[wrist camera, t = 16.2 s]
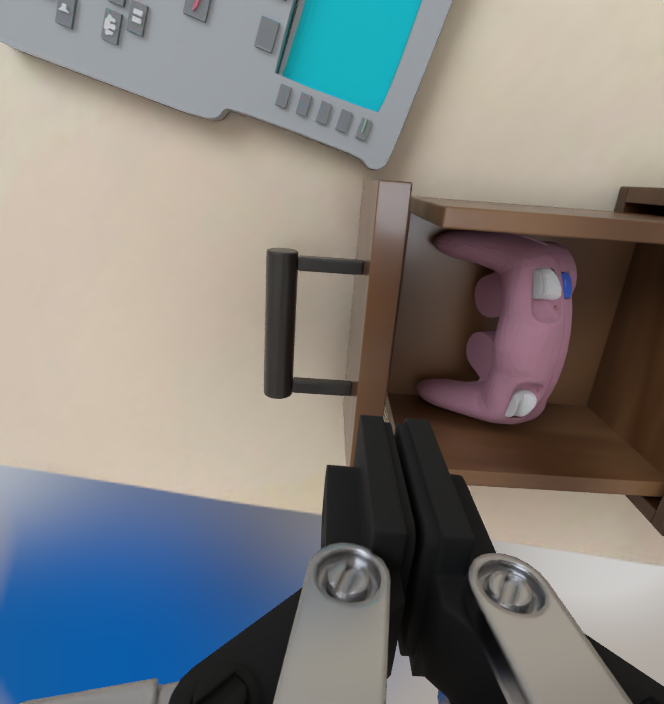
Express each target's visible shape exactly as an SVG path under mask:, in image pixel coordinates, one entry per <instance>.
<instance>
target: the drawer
mask: <svg viewBox="0 0 664 704" xmlns="http://www.w3.org/2000/svg"><path fill="white" fill-rule="evenodd" d="M411 191H412V183H411V182H401V181H389V180H376V179H363V187H362V198H361V210H360V221H359V232H358V243H357V254H356V259H344V258H330V257H316V256H302V255H300V256H299V257H298V251H296V250H293V249H286V248H271V249H268V250H267V257H266V309H265V360H264V393H265V395H266V396H268V397H270V398H275V399H282V398H287V397H289V396H290V395H291V394H292V392H294V393H310V394H325V395H340V396H344V399H343V412H344V434H345V457H346V466H348V467H353V464H354V456H355V448H356V440H357V432H358V424H359V418H360V415H373V416H383V413H384V405H385V403H386V409H387V413H388V417H389V422H390V423H391V425H392V429H393V434H394V433H395V427H396V424H397V423H401V424H403V423H404V420H405V418H411V419H424V420H429V422H430V425H431V427H432V430H433V432H434V435H435V437H436V440H437V443H438V445H439V448H440V450H441V453H442V455H443V458H444V460H445V463H446V466H447V468H448V471H449V473H450V474H455V475H461V476H462V477H463V478H464V480H465V482H466V484H467V485H475V486H491V487H508V488H524V489H541V490H557V491H574V492H590V493H607V494H623V495H640V496H656V497H663V494H664V216H658V215H650V214H637V213H624V212H611V211H598V210H584V209H571V208H558V207H545V206H531V205H518V204H505V203H492V202H478V201H465V200H452V199H439V198H426V197H412V196H411ZM452 230H471V231H485V232H498V233H512V234H519V235H523V236H527V237H530V238H532V239H535V240H538V241H549V242H555V243H558V244H560V245H562V246H563V247H565V248H566V249H567V250H568V251H569V252H570V254H571V255H572V257H573V259H574V262H575V264H576V271H577V280H576V286H575V289H574V291H573V293H572V324H571V335H570V340H569V346H568V351H567V355H566V359H565V362H564V366H563V368H562V371H561V374H560V376H559V379H558V382H557V383H556V385H555V387H554V389H553V391H552V393H551V395H550V396H549V397H548V399H547V402H546V406H545V409H544V410H543V411H542V413H541V414H540V415H539V416H538V417H536V418H535V419H533V420H530V421H526V422H523V423H519V424H513V425H511V424H498V423H491V422H487V421H483V420H479V419H476V418H473V417H469V416H466V415H463V414H460V413H456V412H453V411H450V410H447V409H444V408H441V407H438V406H435V405H433V404H431V403H429V402H427V401H426V400H424V399H423V398H422V397H421V396H420V395H419V394H418V392H417V390H416V386H417V384H418V383H419V382H420V381H422V380H427V379H433V378H434V379H450V380H458V381H465V382H470V381H478V380H479V379H480V377H479V376H478V374H477V372H476V371H475V370H474V369H473V367H472V366H471V365H470V363H469V361H468V359H467V355H466V345H467V342H468V340H469V338H470V337H471V335H472V334H474V333H476V332H484V331H485V332H488V331H495V332H496V329H497V325H498V321H499V317H493V318H490V317H486V316H484V315H482V314H481V313H480V312H479V310H478V308H477V306H476V303H475V288H476V285H477V283H478V281H479V280H480V279H481V278H482V277H484V276H487V275H489V274H492V273H494V272H495V271H494V270H492V269H490V268H487V267H485V266H482V265H480V264H477V263H473V262H469V261H465V260H461V259H457V258H453V257H450V256H448V255H446V254H444V253H442V252H440V251H439V250H438V249H437V248H436V247H435V246H434V243H433V241H434V239H435V237H437V236H438V235H440V234H441V233H444V232H447V231H452ZM298 270H299V271H311V272H325V273H339V274H353V275H355V277H354V288H353V299H352V310H351V321H350V332H349V344H348V355H347V366H346V377H345V381H344V380H329V379H313V378H298V377H294V378H293V365H294V342H295V320H296V297H297V275H298Z"/></svg>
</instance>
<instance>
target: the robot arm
mask: <svg viewBox="0 0 664 704" xmlns="http://www.w3.org/2000/svg"><path fill="white" fill-rule="evenodd" d="M397 641H398V644H399V649H400V654H401V655H402V656H409V659H410V665H411V671H412V676H423V677H426V678H427V679H428V680H429V681H430V682H431V683H432V684H433V685H434V686H435V687H436V688H437V689H438V703H439V704H664V686H662V685H661V684H659V683H658V682H656V681H655V680H653V679H652V678H650V677H649V676H647V675H646V674H644V673H643V672H641V671H640V670H638V669H637V668H635V667H634V666H632V665H631V664H629V663H628V662H626V661H624V660H623V659H622V658H620V657H619V656H617V655H616V654H614V653H613V652H611V651H610V650H608V649H607V648H605V647H604V646H602V645H601V644H599V643H598V642H596V641H595V640H593V639H592V638H590V637H589V636H587V635H586V634H584V633H583V631H582V630H581V629H580V627H579V626H578V624H577V623H576V621H575V620H574V619H573V617H572V616H571V614H570V613H569V611H568V610H567V609H566V607H565V606H564V604H563V603H562V601H561V600H560V599H559V597H558V596H557V594H556V593H555V591H554V590H553V589H552V587H551V586H550V584H549V583H548V582H547V580H546V579H545V578H544V577H543V576H542V575H541V574H540V573H539V572H538V571H537V570H536V569H534V568H533V567H532V566H530V565H529V564H528V563H525V562H524V561H522V560H520V559H518V558H516V557H512V556H509V555H506V554H498V553H496V552H495V550H494V547H493V545H492V542H491V540H490V538H489V535H488V533H487V531H486V528H485V526H484V524H483V522H482V519H481V517H480V515H479V512H478V510H477V508H476V505H475V503H474V501H473V498H472V496H471V494H470V491H469V489H468V487H467V484H466V482H465V480H464V478H463V477H462V476H461V475H455V474H450V473H449V471H448V468H447V466H446V463H445V460H444V458H443V455H442V453H441V450H440V448H439V445H438V443H437V440H436V437H435V435H434V432H433V430H432V427H431V425H430V422H429V420H424V419H411V418H405V420H404V423H403V424H401V423H397V424H396V427H395V433H394V434H393V429H392V425H391V423H388V422H384V420H383V416H373V415H360V418H359V424H358V432H357V440H356V448H355V456H354V464H353V467H348V466H335V465H327V468H326V476H325V486H324V497H323V510H322V530H321V549H320V550H319V551H318V552H317V553H316V554H315V555H314V556H313V557H312V559H311V561H310V563H309V565H308V568H307V572H306V576H305V580H304V584H303V587H302V588H301V589H300V590H298V591H297V592H296V593H294V594H293V595H291V596H290V597H289V598H288V599H286V600H285V601H283V602H282V603H281V604H279V605H278V606H277V607H275V608H274V609H272V610H271V611H270V612H268V613H267V614H266V615H264V616H263V617H261V618H260V619H259V620H257V621H256V622H255V623H253V624H252V625H250V626H249V627H248V628H246V629H245V630H244V631H242V632H241V633H239V634H238V635H237V636H235V637H234V638H233V639H231V640H230V641H229V642H227V643H226V644H224V645H223V646H222V647H220V648H219V649H218V650H216V651H215V652H214V653H212V654H211V655H209V656H208V657H207V658H205V659H204V660H203V661H201V662H200V663H199V664H197V665H196V666H195V667H193V668H192V669H191V670H190V671H189V672H188V673H187V674H186V675H185V676H184V677H183V678H182V679H181V680H180V681H179V682H175V683H169V684H163V685H158V678H155V679H149V680H144V681H138V682H132V683H126V684H121V685H115V686H109V687H104V688H99V689H93V690H87V691H81V692H76V693H70V694H64V695H59V696H53V697H48V698H42V699H36V700H30V701H25V702H22V703H20V704H386V688H387V679H388V677H389V676H390V675H391V670H392V666H393V660H394V656H395V650H396V646H397Z"/></svg>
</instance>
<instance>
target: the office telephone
mask: <svg viewBox="0 0 664 704" xmlns="http://www.w3.org/2000/svg"><path fill="white" fill-rule="evenodd" d="M296 2H297V0H0V42H2V43H4V44H6V45H8V46H10V47H12V48H15V49H17V50H19V51H22V52H24V53H27V54H29V55H32V56H34V57H37V58H40V59H42V60H45V61H48V62H50V63H53V64H56V65H59V66H61V67H64V68H67V69H69V70H72V71H75V72H77V73H80V74H83V75H85V76H88V77H91V78H93V79H96V80H99V81H101V82H104V83H107V84H110V85H112V86H115V87H118V88H120V89H123V90H126V91H128V92H131V93H134V94H136V95H139V96H142V97H144V98H147V99H150V100H152V101H155V102H158V103H161V104H163V105H166V106H169V107H171V108H174V109H177V110H179V111H182V112H185V113H187V114H190V115H194V116H197V117H201V118H204V119H208V120H214V121H218V120H222V119H223V118H224V117H225V116H226V115H227V114H228V112H236V113H239V114H243V115H246V116H249V117H252V118H255V119H258V120H261V121H263V122H266V123H269V124H272V125H274V126H277V127H280V128H283V129H285V130H288V131H291V132H294V133H296V134H299V135H301V136H304V137H307V138H309V139H312V140H314V141H317V142H319V143H322V144H324V145H327V146H330V147H332V148H335V149H337V150H340V151H342V152H345V153H347V154H350V155H352V156H354V157H356V158H358V159H359V160H361V161H362V162H363V164H364V165H365V166H366V167H367V168H368V169H371V170H376V169H380V168H382V167H383V166H385V164H386V163H387V161H388V160H389V157H390V155H391V153H392V151H393V149H394V146H395V144H396V142H397V139H398V137H399V134H400V132H401V129H402V127H403V124H404V122H405V119H406V117H407V114H408V112H409V109H410V107H411V104H412V102H413V99H414V97H415V94H416V92H417V89H418V87H419V84H420V82H421V79H422V77H423V74H424V72H425V69H426V67H427V64H428V62H429V59H430V57H431V54H432V52H433V49H434V47H435V44H436V42H437V39H438V37H439V34H440V31H441V29H442V26H443V24H444V21H445V18H446V16H447V13H448V11H449V8H450V6H451V3H452V0H299V3H298V7H297V10H296V14H295V17H294V21H293V24H292V28H291V31H290V35H289V38H288V42H287V45H286V49H285V52H284V48H285V44H286V40H287V36H288V32H289V28H290V24H291V20H292V17H293V13H294V9H295V6H296ZM283 52H284V56H283ZM282 56H283V59H282ZM281 60H282V63H281ZM280 64H281V66H280ZM279 68H280V70H279ZM278 72H279V73H278Z"/></svg>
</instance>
